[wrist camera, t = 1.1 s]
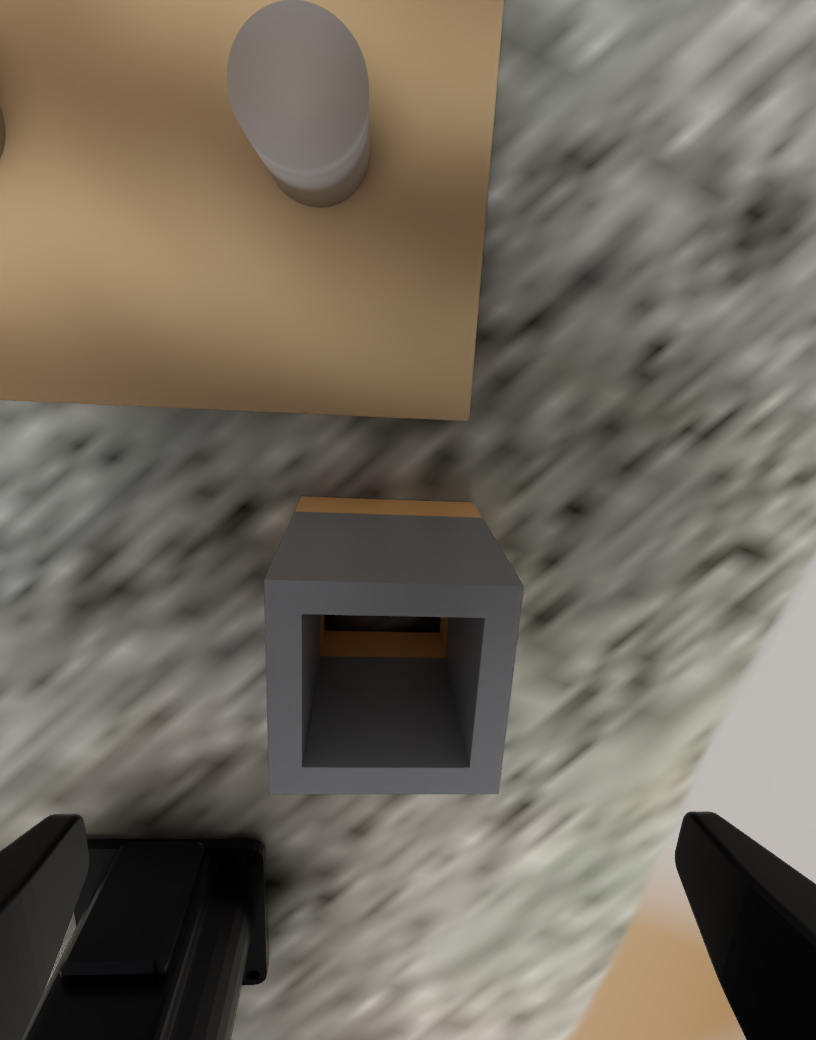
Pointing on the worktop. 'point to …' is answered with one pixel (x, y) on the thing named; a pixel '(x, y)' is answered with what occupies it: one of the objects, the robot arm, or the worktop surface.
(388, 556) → the sleeve
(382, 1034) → the worktop surface
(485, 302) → the worktop surface
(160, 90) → the pin board
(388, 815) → the worktop surface
